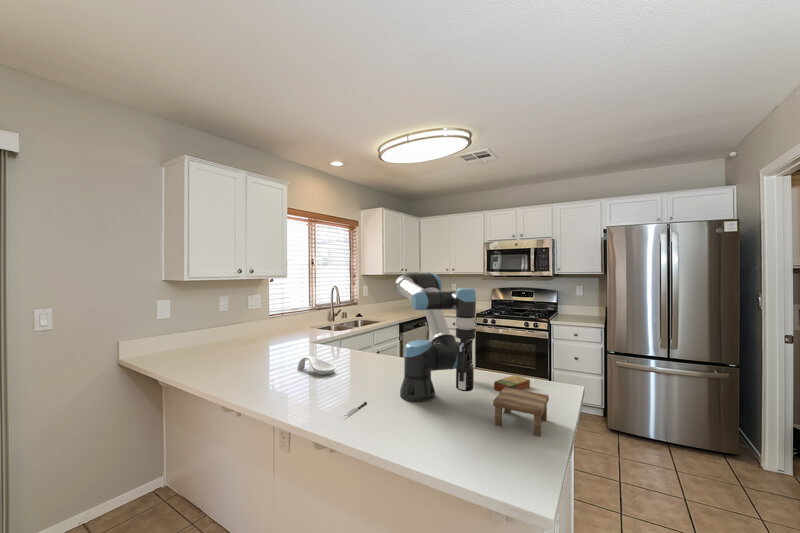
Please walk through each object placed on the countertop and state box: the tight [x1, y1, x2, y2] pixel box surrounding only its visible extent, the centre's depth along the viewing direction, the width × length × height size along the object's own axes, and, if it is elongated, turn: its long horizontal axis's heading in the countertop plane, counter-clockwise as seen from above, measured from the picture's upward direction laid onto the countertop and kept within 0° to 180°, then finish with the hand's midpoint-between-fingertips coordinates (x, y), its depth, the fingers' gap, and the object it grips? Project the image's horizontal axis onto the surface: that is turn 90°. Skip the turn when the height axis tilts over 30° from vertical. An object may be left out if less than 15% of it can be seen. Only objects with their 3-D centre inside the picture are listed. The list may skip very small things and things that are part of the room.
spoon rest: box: [297, 355, 337, 376], centre depth 184 cm, size 24×12×7 cm, turn 59°
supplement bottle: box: [455, 357, 475, 392], centre depth 136 cm, size 7×7×12 cm
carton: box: [493, 374, 531, 393], centre depth 160 cm, size 8×16×4 cm, turn 126°
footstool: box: [492, 387, 550, 437], centre depth 125 cm, size 16×16×9 cm
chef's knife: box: [347, 401, 368, 417], centre depth 133 cm, size 19×1×3 cm
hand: (464, 385), depth 136 cm, fingers closed on supplement bottle, 7 cm apart
